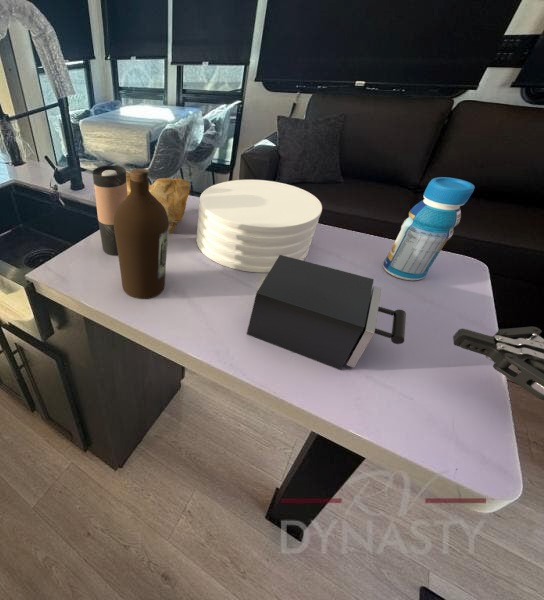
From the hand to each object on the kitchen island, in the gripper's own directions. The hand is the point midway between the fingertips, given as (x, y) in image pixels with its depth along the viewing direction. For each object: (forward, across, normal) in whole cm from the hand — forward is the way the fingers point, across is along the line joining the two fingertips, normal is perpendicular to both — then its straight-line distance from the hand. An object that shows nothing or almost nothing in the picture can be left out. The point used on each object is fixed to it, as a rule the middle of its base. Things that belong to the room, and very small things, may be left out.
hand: (456, 336), depth 48 cm
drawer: (+15, 0, +7) cm, 17 cm away
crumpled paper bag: (+65, -25, +8) cm, 70 cm away
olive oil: (+52, +4, +8) cm, 53 cm away
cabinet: (+20, 0, +8) cm, 21 cm away
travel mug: (+67, -6, +8) cm, 68 cm away
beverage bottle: (+4, -30, +8) cm, 32 cm away
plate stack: (+38, -26, +8) cm, 47 cm away
